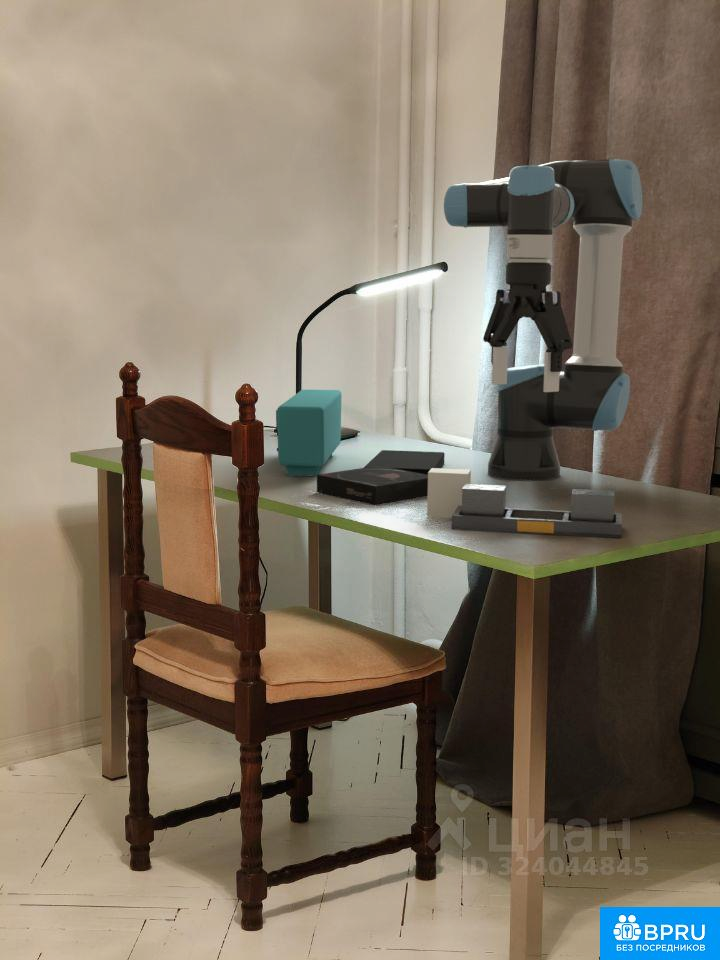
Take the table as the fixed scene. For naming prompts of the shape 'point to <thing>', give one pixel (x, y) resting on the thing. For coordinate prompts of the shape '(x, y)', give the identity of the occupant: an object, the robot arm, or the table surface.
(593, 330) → the robot arm
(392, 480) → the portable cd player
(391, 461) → the external hard drive
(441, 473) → the beige rectangular block
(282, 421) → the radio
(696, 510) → the table surface
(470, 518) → the rack
